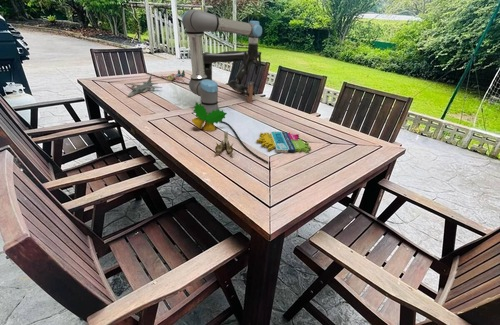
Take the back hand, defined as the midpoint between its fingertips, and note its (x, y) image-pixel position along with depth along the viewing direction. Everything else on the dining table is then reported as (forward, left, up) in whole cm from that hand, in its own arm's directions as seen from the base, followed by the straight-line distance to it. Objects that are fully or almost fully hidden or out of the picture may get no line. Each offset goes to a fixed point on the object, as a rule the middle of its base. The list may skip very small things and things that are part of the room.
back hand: (251, 94), depth 217 cm
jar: (-2, +1, -7) cm, 7 cm away
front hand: (-2, +1, +16) cm, 16 cm away
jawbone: (+44, -83, -7) cm, 94 cm away
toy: (-108, +9, -7) cm, 109 cm away
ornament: (+16, -66, -7) cm, 69 cm away
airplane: (-85, -46, -7) cm, 96 cm away
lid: (-2, +1, +9) cm, 10 cm away
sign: (+61, -52, -7) cm, 81 cm away
